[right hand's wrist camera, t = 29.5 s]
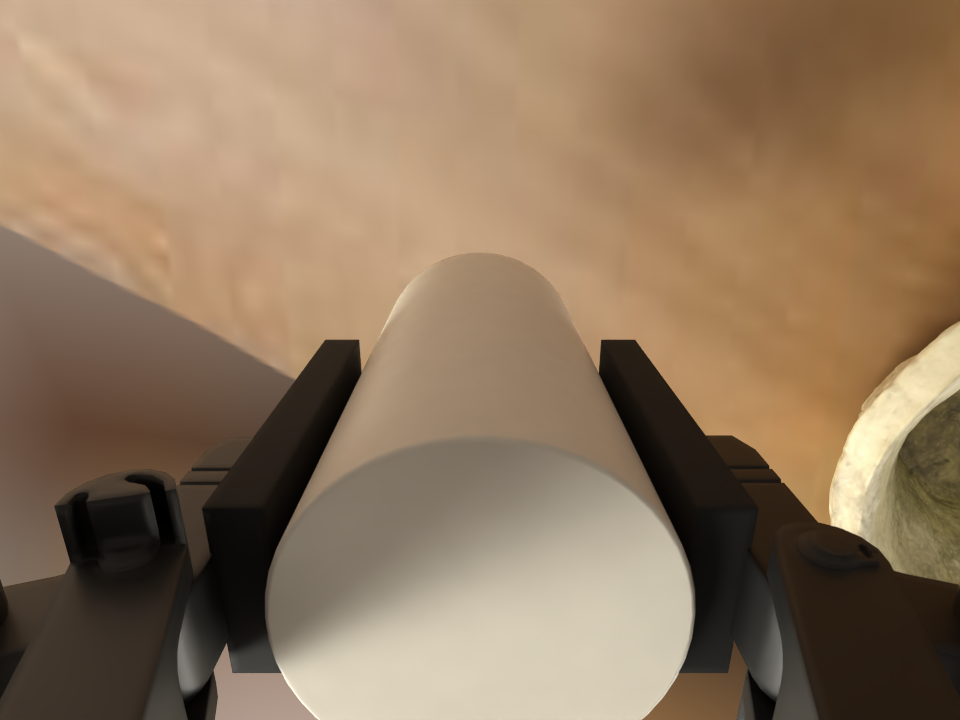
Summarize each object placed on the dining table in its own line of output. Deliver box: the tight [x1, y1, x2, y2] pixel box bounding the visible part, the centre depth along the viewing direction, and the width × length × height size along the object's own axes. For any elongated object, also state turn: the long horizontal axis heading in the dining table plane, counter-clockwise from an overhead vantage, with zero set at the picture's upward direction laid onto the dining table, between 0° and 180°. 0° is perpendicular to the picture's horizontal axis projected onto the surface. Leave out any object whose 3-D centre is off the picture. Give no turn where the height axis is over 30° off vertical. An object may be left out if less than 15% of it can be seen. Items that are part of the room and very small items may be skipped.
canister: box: [265, 253, 696, 720], centre depth 13 cm, size 5×5×11 cm
